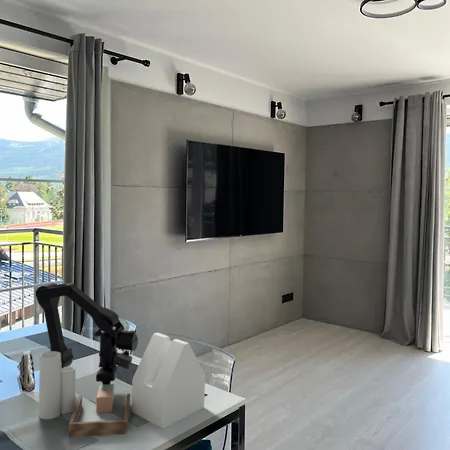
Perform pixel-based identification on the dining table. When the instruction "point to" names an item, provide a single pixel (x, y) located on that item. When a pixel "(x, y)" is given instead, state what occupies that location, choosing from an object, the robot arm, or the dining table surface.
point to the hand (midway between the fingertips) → (107, 390)
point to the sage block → (107, 388)
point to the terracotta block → (104, 401)
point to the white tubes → (55, 386)
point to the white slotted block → (167, 382)
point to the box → (97, 423)
